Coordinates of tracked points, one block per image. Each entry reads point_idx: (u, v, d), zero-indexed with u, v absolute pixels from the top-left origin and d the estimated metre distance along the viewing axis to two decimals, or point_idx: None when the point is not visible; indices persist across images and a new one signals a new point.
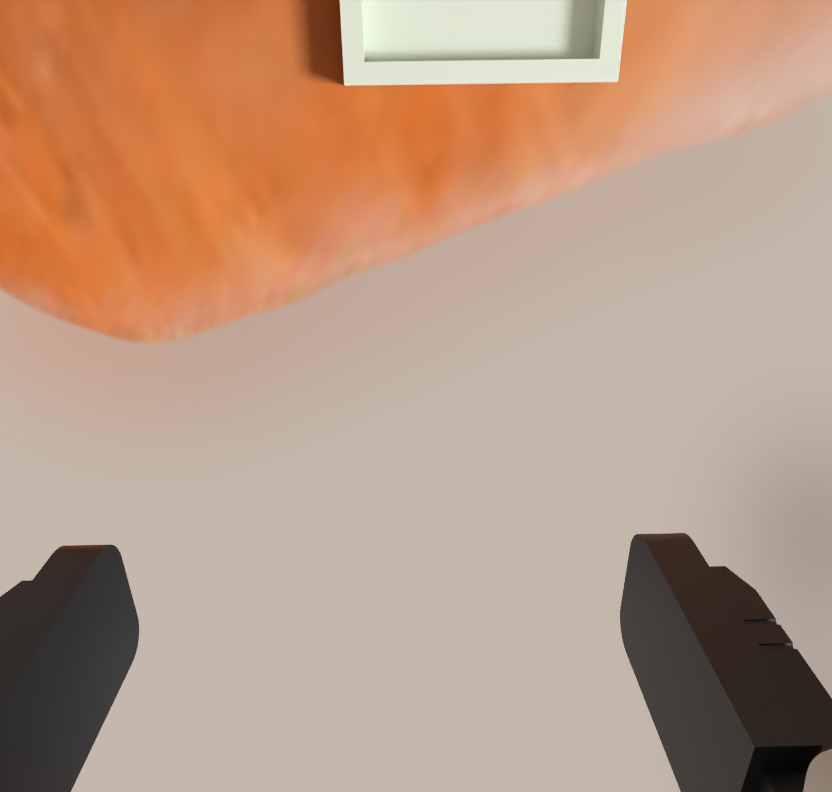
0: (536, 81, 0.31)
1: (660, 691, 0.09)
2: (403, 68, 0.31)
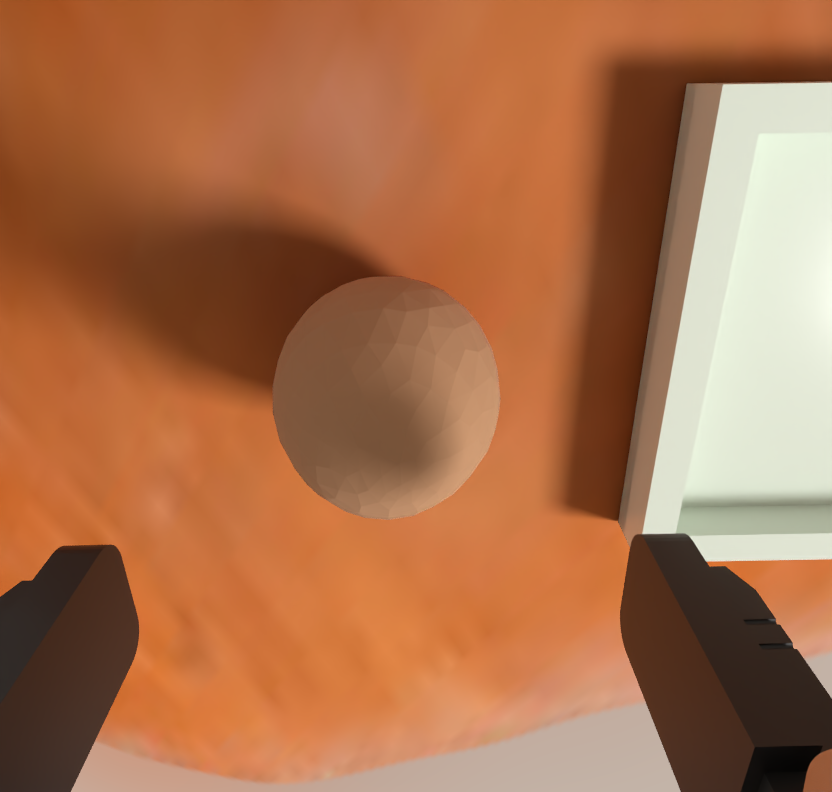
0: None
1: (660, 691, 0.09)
2: (734, 542, 0.19)
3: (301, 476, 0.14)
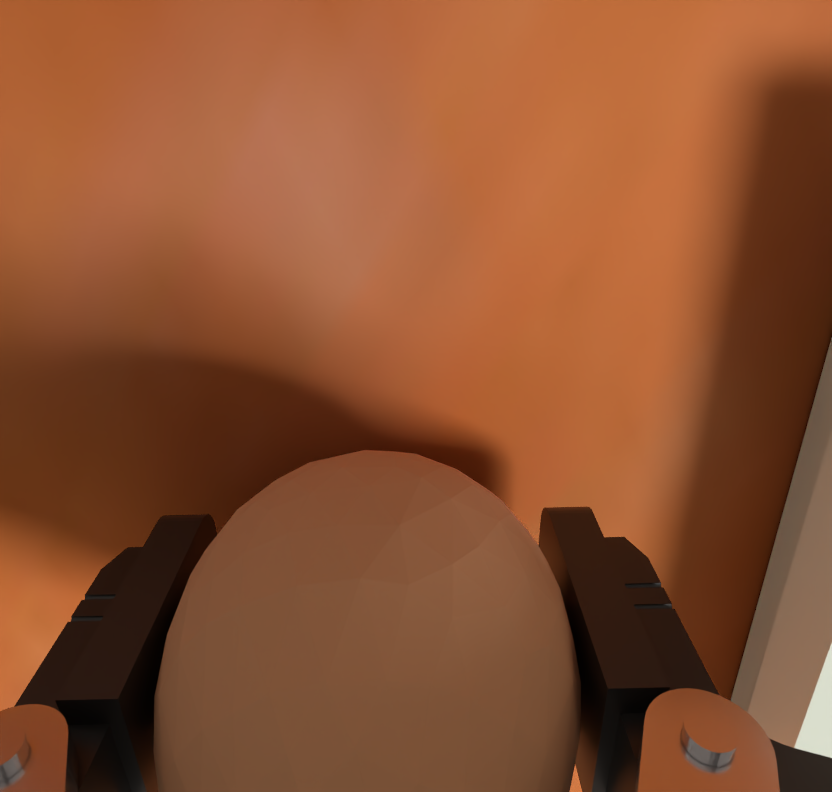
0: None
1: None
2: None
3: None
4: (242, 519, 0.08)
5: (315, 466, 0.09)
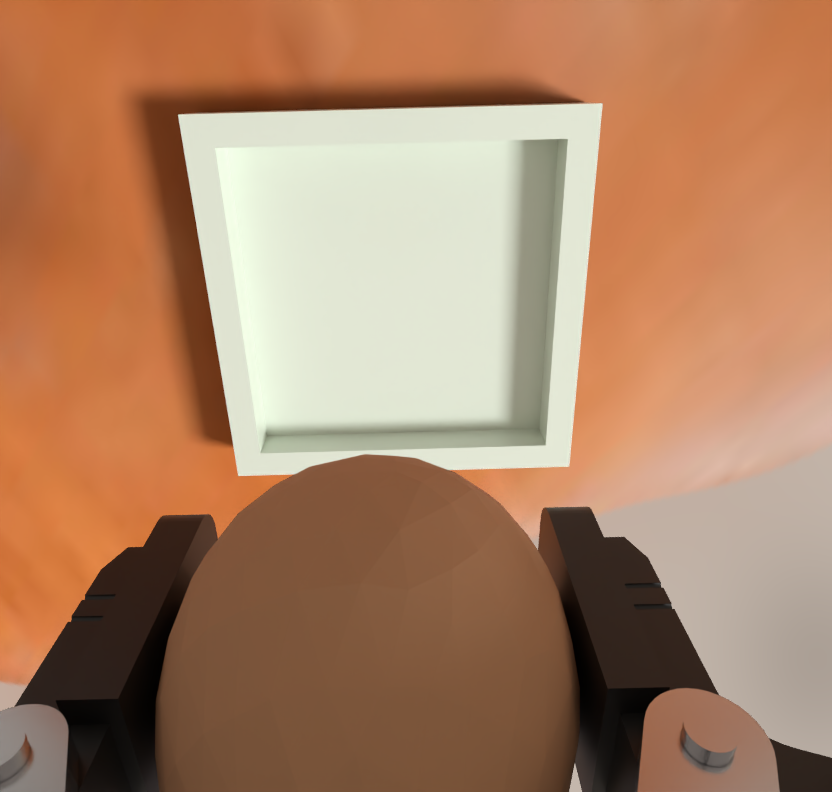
0: (470, 468, 0.26)
1: None
2: (308, 458, 0.25)
3: None
4: (243, 524, 0.08)
5: (315, 471, 0.09)
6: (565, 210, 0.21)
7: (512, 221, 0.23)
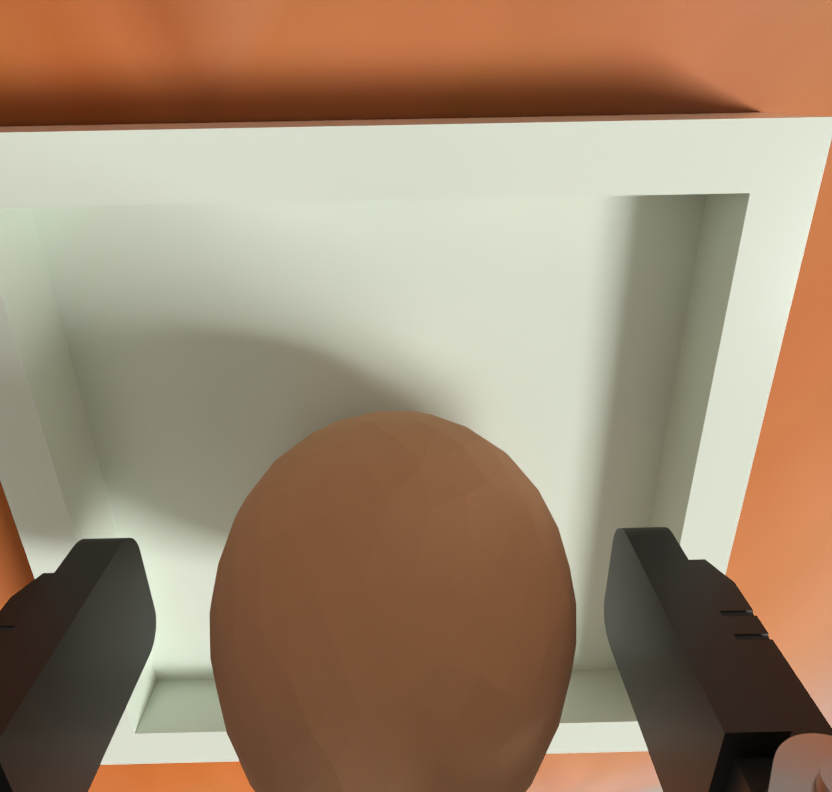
0: None
1: (640, 682, 0.09)
2: (222, 739, 0.14)
3: None
4: (282, 465, 0.09)
5: (343, 422, 0.10)
6: (726, 337, 0.10)
7: (603, 341, 0.12)
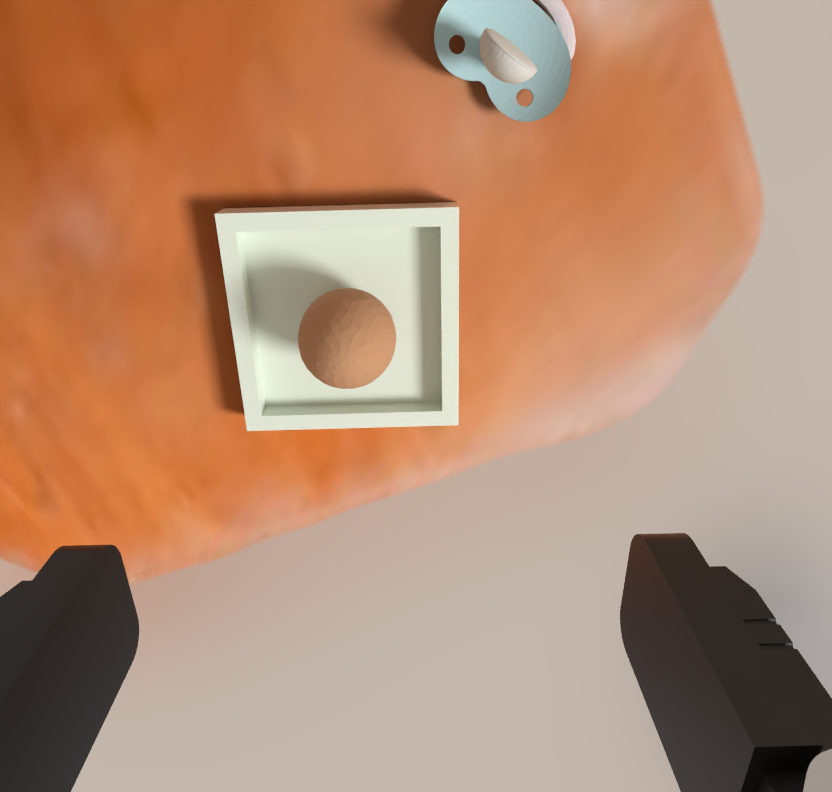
0: (395, 425, 0.40)
1: (660, 691, 0.09)
2: (291, 419, 0.40)
3: (310, 369, 0.34)
4: (316, 299, 0.35)
5: None
6: (442, 266, 0.36)
7: (415, 271, 0.37)
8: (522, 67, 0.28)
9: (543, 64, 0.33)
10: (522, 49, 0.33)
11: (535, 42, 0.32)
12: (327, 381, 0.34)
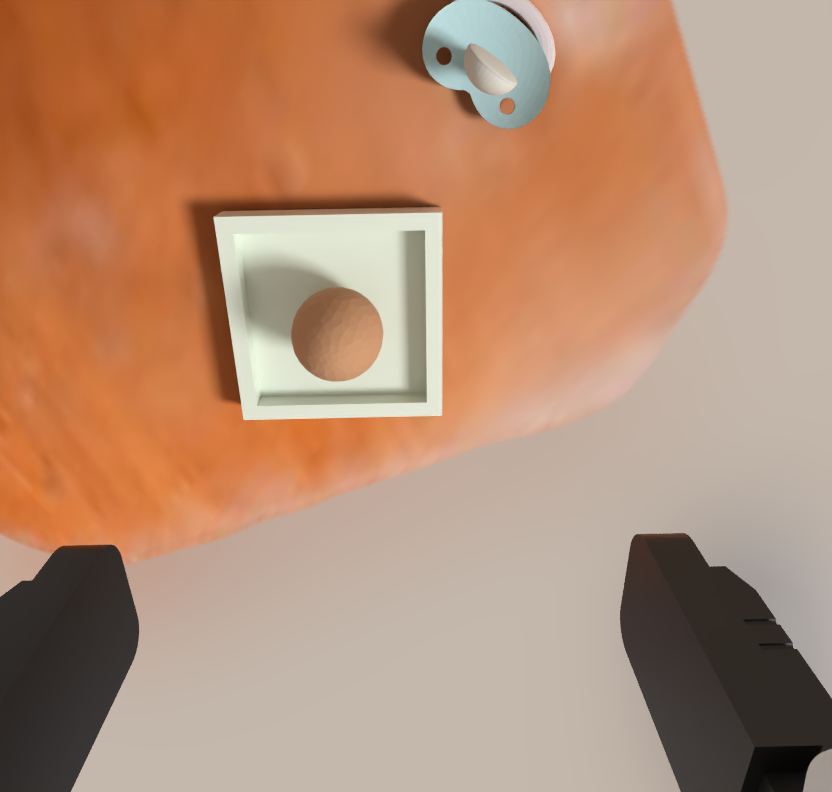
0: (382, 416, 0.43)
1: (660, 691, 0.09)
2: (285, 409, 0.42)
3: (302, 363, 0.36)
4: (308, 298, 0.38)
5: (324, 289, 0.38)
6: (427, 267, 0.38)
7: (401, 271, 0.40)
8: (502, 81, 0.31)
9: (524, 75, 0.35)
10: (505, 61, 0.35)
11: (517, 54, 0.35)
12: (318, 374, 0.36)
